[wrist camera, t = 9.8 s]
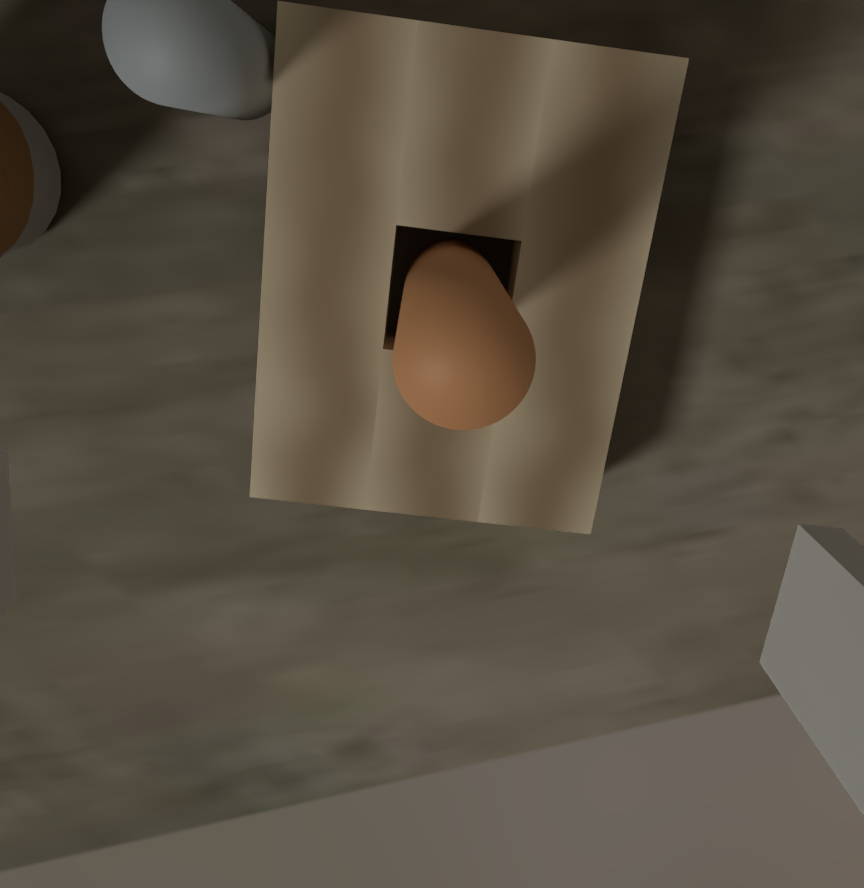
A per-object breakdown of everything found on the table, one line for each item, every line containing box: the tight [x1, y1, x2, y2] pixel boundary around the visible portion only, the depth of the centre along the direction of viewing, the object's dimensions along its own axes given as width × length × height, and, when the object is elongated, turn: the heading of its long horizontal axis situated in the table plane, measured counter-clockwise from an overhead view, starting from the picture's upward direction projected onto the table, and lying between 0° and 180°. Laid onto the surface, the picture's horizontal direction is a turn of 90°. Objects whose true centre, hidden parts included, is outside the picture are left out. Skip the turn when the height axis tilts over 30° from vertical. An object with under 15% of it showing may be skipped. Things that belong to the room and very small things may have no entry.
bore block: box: [250, 1, 689, 534], centre depth 33 cm, size 14×18×4 cm
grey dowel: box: [102, 0, 275, 120], centre depth 28 cm, size 4×4×10 cm
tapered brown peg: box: [392, 238, 536, 430], centre depth 27 cm, size 4×4×14 cm
